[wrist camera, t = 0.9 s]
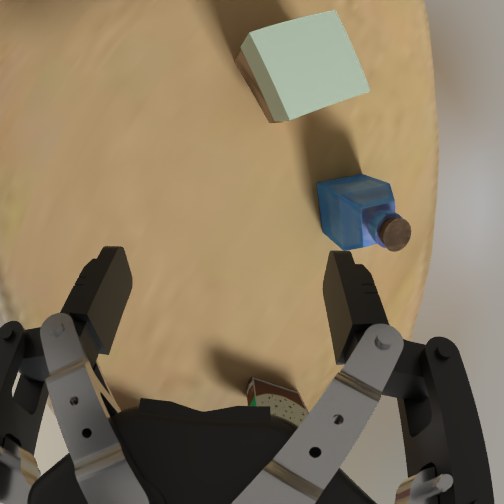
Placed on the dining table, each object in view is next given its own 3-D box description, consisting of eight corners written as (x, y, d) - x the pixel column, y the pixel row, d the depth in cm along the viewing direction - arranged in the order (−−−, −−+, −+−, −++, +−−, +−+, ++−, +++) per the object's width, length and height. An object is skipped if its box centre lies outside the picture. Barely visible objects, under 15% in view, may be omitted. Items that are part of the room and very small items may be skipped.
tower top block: (240, 47, 25) (249, 32, 20) (314, 24, 25) (335, 9, 20) (274, 121, 28) (289, 120, 23) (345, 94, 28) (370, 91, 23)
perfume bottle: (322, 232, 38) (370, 274, 28) (316, 182, 36) (367, 209, 25) (366, 221, 39) (422, 257, 28) (362, 174, 36) (423, 196, 26)
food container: (222, 398, 46) (230, 448, 37) (243, 373, 45) (256, 425, 36) (283, 415, 50) (298, 460, 41) (305, 394, 49) (324, 439, 40)
